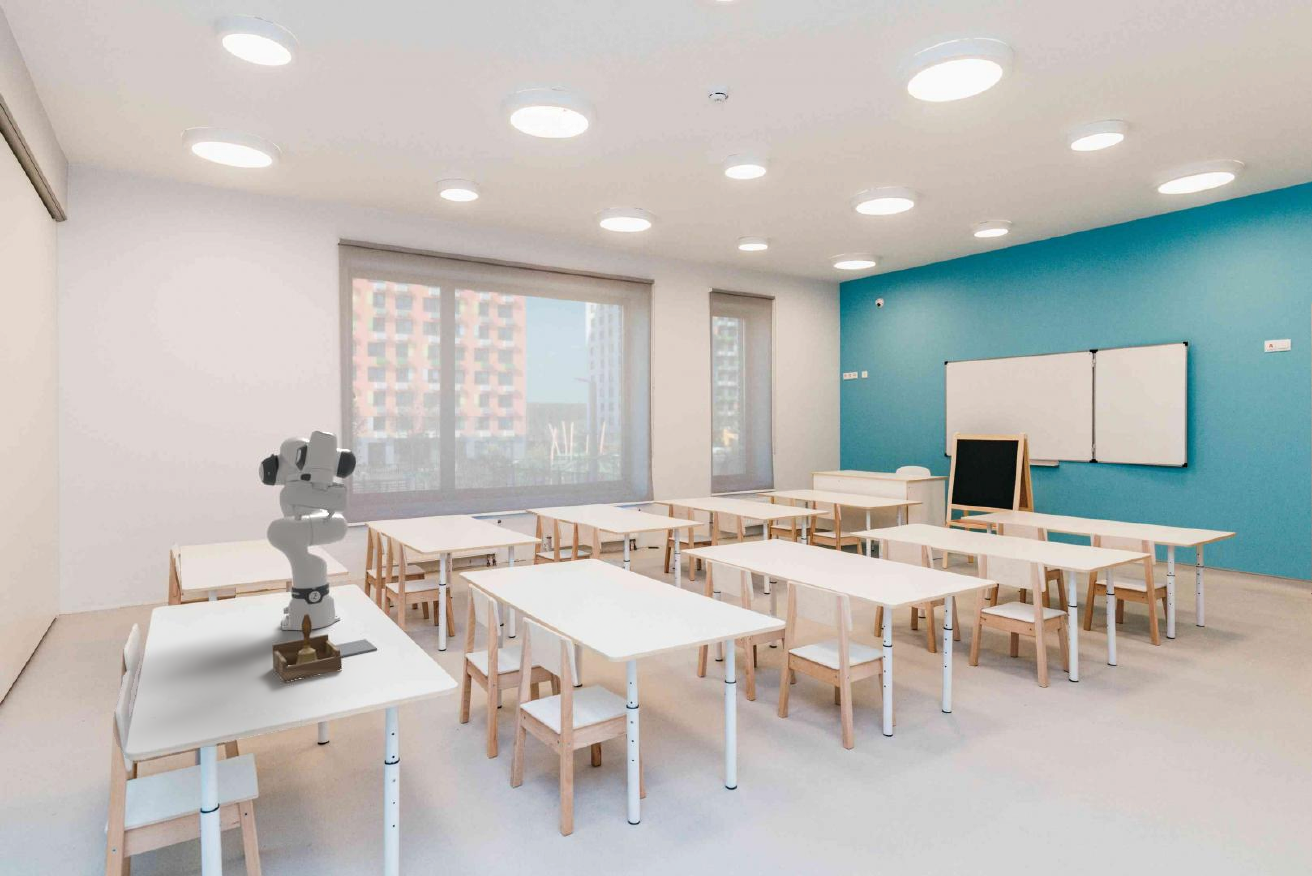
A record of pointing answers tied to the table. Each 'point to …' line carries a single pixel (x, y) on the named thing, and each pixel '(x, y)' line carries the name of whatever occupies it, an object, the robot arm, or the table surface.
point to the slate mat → (355, 647)
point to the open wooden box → (289, 655)
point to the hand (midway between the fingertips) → (312, 522)
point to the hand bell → (306, 643)
